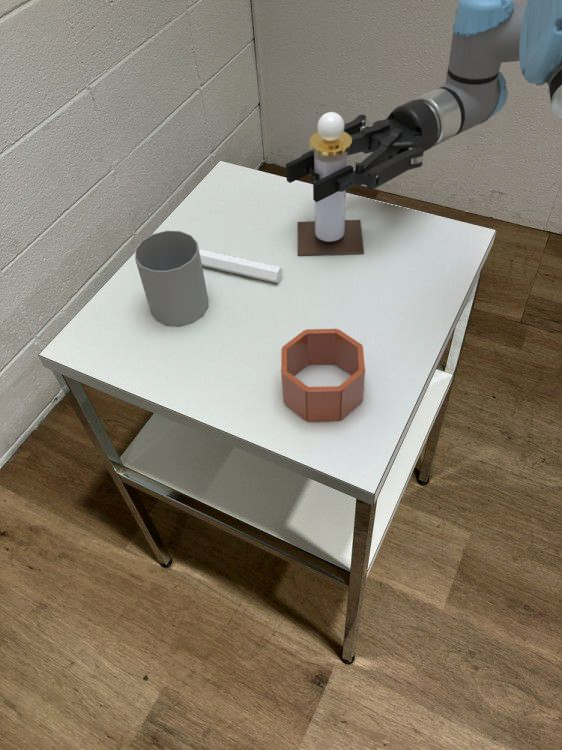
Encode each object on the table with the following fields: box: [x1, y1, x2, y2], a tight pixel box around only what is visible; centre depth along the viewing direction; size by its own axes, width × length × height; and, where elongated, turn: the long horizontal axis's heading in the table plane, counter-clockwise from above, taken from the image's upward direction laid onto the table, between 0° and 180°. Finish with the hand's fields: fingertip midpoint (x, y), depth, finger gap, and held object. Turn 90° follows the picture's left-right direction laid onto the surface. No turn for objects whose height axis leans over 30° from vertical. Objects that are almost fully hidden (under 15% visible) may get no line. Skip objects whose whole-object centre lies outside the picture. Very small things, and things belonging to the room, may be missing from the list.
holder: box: [280, 328, 366, 423], centre depth 78 cm, size 10×10×6 cm
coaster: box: [297, 219, 365, 257], centre depth 99 cm, size 10×8×1 cm
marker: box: [199, 248, 283, 284], centre depth 95 cm, size 3×2×16 cm
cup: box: [134, 230, 209, 327], centre depth 87 cm, size 8×8×10 cm
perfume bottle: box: [309, 111, 352, 242], centre depth 91 cm, size 6×6×20 cm
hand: (301, 182), depth 88 cm, fingers open, 5 cm apart
